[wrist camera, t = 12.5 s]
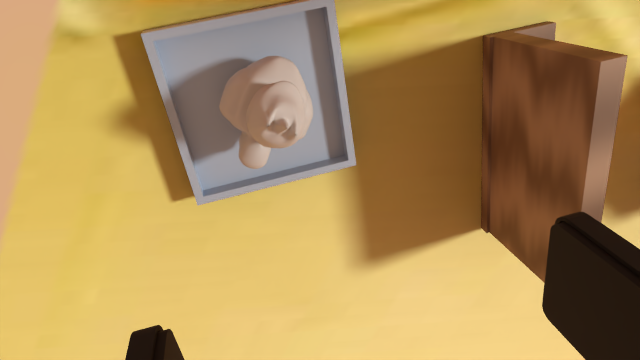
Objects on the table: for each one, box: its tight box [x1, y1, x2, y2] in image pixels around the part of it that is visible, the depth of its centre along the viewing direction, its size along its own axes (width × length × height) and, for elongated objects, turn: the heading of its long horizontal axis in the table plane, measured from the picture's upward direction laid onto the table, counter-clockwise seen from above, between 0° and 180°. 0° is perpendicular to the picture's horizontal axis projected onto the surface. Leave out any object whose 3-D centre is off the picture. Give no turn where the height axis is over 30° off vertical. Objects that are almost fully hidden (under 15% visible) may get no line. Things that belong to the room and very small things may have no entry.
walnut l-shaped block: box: [481, 22, 627, 283], centre depth 30 cm, size 16×5×10 cm, turn 9°
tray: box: [141, 0, 356, 205], centre depth 28 cm, size 11×11×2 cm
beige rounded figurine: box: [219, 56, 313, 169], centre depth 25 cm, size 5×7×8 cm
